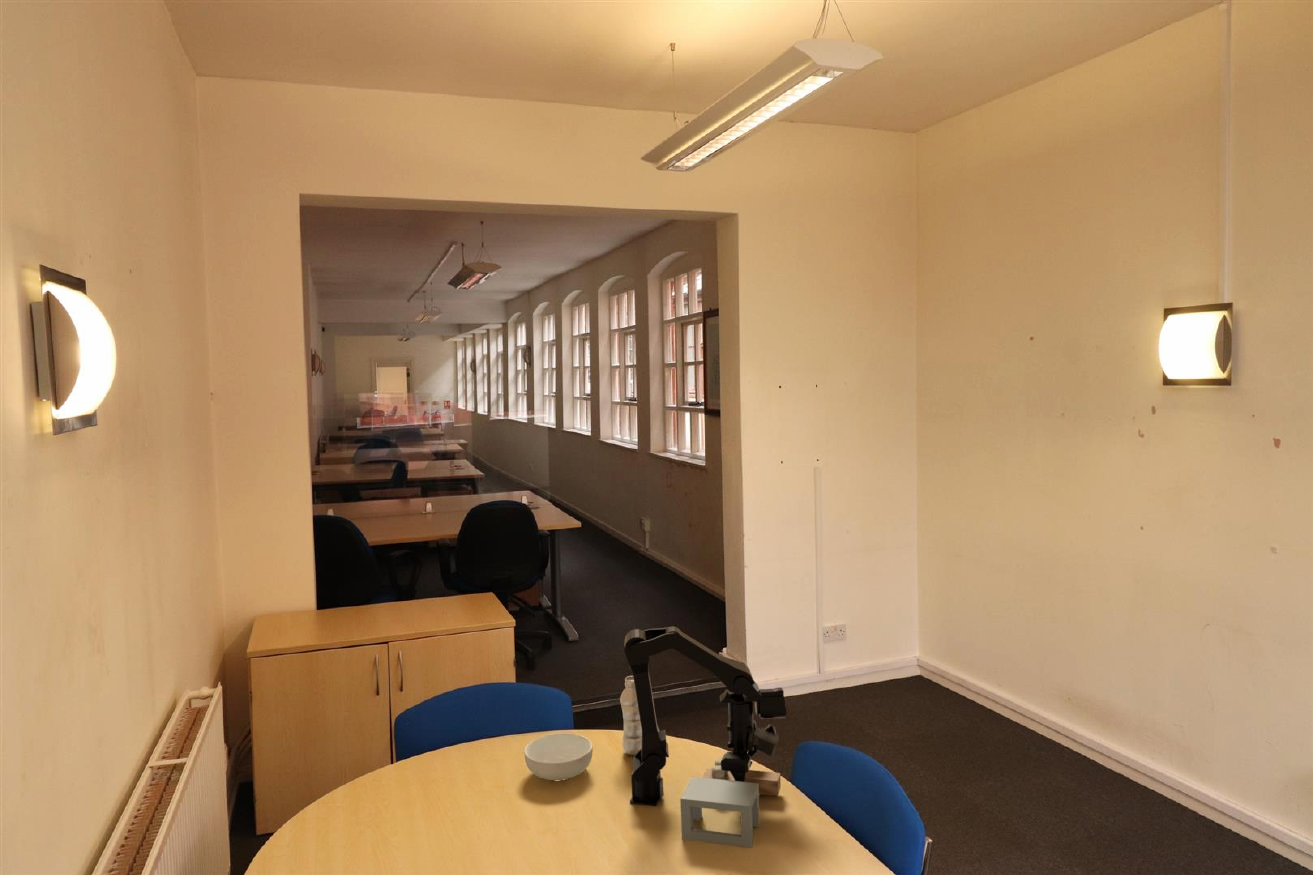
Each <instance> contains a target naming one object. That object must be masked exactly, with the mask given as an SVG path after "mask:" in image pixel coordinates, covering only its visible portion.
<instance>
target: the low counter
mask: <svg viewBox="0 0 1313 875" xmlns="http://www.w3.org/2000/svg"><path fill="white" fill-rule="evenodd" d="M679 801H680V803H679V804H680V822H681V823H680V825H681V826H680V827H681V840H687V841H695V842H704V843H709V844H711V843H712V844H719V845H727V846H734V847H741V848H742V847H744V848H749V849H750V848H752V846H753V844H754V830H753V828H759V826H760V824H761V823H760V822H761V821H760V794H759V785H758V783H750V782H740V781H730V780H721V779H711V778H702V776H701V777H699V776H691V777H690V779H689V782H688V783H687V785H686V787H685V788H684V791H683V793H682V795H681V796H680V798H679ZM703 809H711V810H718V811H727V812H738V813H740V828H741V831H740V832H741V833H740V834H738V833H730V832H729V833H728V832H722V831H721V832H720V831H714V830H713V831H712V830H705V829H697V828H694V823H693V822H694V821H697V822H698V821H699V822H700V821H701V819H702V818H703Z"/></svg>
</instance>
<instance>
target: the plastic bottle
mask: <svg viewBox="0 0 1313 875" xmlns="http://www.w3.org/2000/svg"><path fill="white" fill-rule="evenodd" d="M624 687H625V688H624V689H623V691H622V692H621V695H620V698H619V701H620V705H621V706H620V707H621V711H622V718H623V736H622V749H623V750H624V752H625V754H628V755H630V756H635V755H636V753H637V752H638V751H639V750H640V749H641V741H642V728H641V722H640V715H639V709H638V702H637V696H636V689H635V683H634V676H633V675H629V676H626V677H625V678H624Z"/></svg>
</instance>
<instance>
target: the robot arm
mask: <svg viewBox="0 0 1313 875" xmlns="http://www.w3.org/2000/svg"><path fill="white" fill-rule="evenodd" d="M623 646H624V647H623V649H624V650H623V652H624V656H625V658H626V661H627V664H628V666H629V669H630V671H631V674H632V676H634V683H635V689H636V696H637V702H638V709H639V715H640V722H641V728H642V741H641V749H640V750H639V751H638V752H637V753H636V755H633V757H632V758H633V759H632V772H631V774H630V776H631V778H630V779H631V797H630V799H629V803H631V804H636V805H637V804H638V805H647V806H657V805H658V804H659V801H660V800H662V797H663V796H664V778H663V777H661V770H663V769H664V768H665V766H666V765H667V758H669V756H670V755H669V754H670V753H669V744H668V742H667V732H666V729H662V730H660V728H659V726H658V722H657V716H656V710H655V703H654V696H653V690H652V689H653V688H652V683H651V676H650V672H649V671H650V657H652V656H656V655H658V654H660V653H663V652H665V651H667V650H671V649H673V650H675V651H676V652H678V653H680V654H682V656H684V657H686V658H688V659H690V660H691V661H692V662H694V663H696V665H697V664H698V665H699V666H701V667H702V668H704V669H705V670H708V671H709V672H710V673H711V674H713V675H714V676H715V677H716V678H718V680H719V681H720V682H721V683H722V684H723V685H724V686H725V687H726V688H727V689H725V690H724V692H723V693H721V694H720V695H719V700H720V703H721V704H728V705H727V706H728V708H727V709H728V724H727V725H726V731H728V736H729V740H728V741H727V748H728V749H731V751H729V750H728V751H727V752H725V753H724V754H723V756H722V758H721V759H722V760H721V770H723V771H730V772H731V774H732V776H733V778H734V780H735V781H740V782H745V775H746V772H748V771H749V770H751V769H750V768H751V767H752V765H753V760H752V756H754V755H755V754H756V753H757V752H758V751H760V752H761V753H765V755H767V756H770V757H771V756H772V757H773V755H774V754H775V750H776V747H777V744H778V742H779V739H780V737H779V734H778V733H777V730H776V726H775V725H773V724H768V725H767V726H765V728H764V727H761V728H760V727H757V725H758V724H757V721H756V720H755V719H754V711H755V714H756V715H757V716H758V715H759V718H760V719H761V720H768V719H770V720H771V719H786V717H787V706H786V702H785V701H786V700H785V692H784V688H782V687H774V688H759V685H758V683H757V682H756V681H755V680H754V679H753V678H754V677H753V674H752V672H751V670H750V667H748V665H746V664H745V663H743V662H741V661H739V660H735V659H733V658H730V657H729V658H728V657H725V656H722V655H721V654H720V655H719V654H718V653H716V652H715V651H713V650H712V649H710V648H708V647H707V646H705V645H703V644H702V643H700V642H699V641H697V640H696V639H694V638H692V637H690V636H689V635H688V634H686V633H684V632H682V631H681V630H680V628H678V627H676V626H668V627H663V628H649V629H644V630H642V629H638V628H637V629H636V628H635V629H631V630H630V631H629V632H627V633H626V635H625V637H624V645H623ZM728 689H729V690H730V691H729V690H728ZM754 709H755V710H754Z"/></svg>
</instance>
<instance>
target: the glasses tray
mask: <svg viewBox="0 0 1313 875" xmlns="http://www.w3.org/2000/svg"><path fill="white" fill-rule="evenodd" d="M721 760H722V758H717V759H715V760H714V765H713V766H712V767H711V768H706V770H705V772H704V773H703V776H701V778H711V779H721V780H730V781H735V780H734V778H733V776H732V774H731V772H730V771H723V770H721ZM745 782H750V783H758V785H759V795H767V796H776V797H778V796H779V794H780V791H781V788H782V787H781V786H782V784H781V773H780V772H773V771H761V770H754V769H749V771H748V772H746V775H745Z"/></svg>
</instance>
